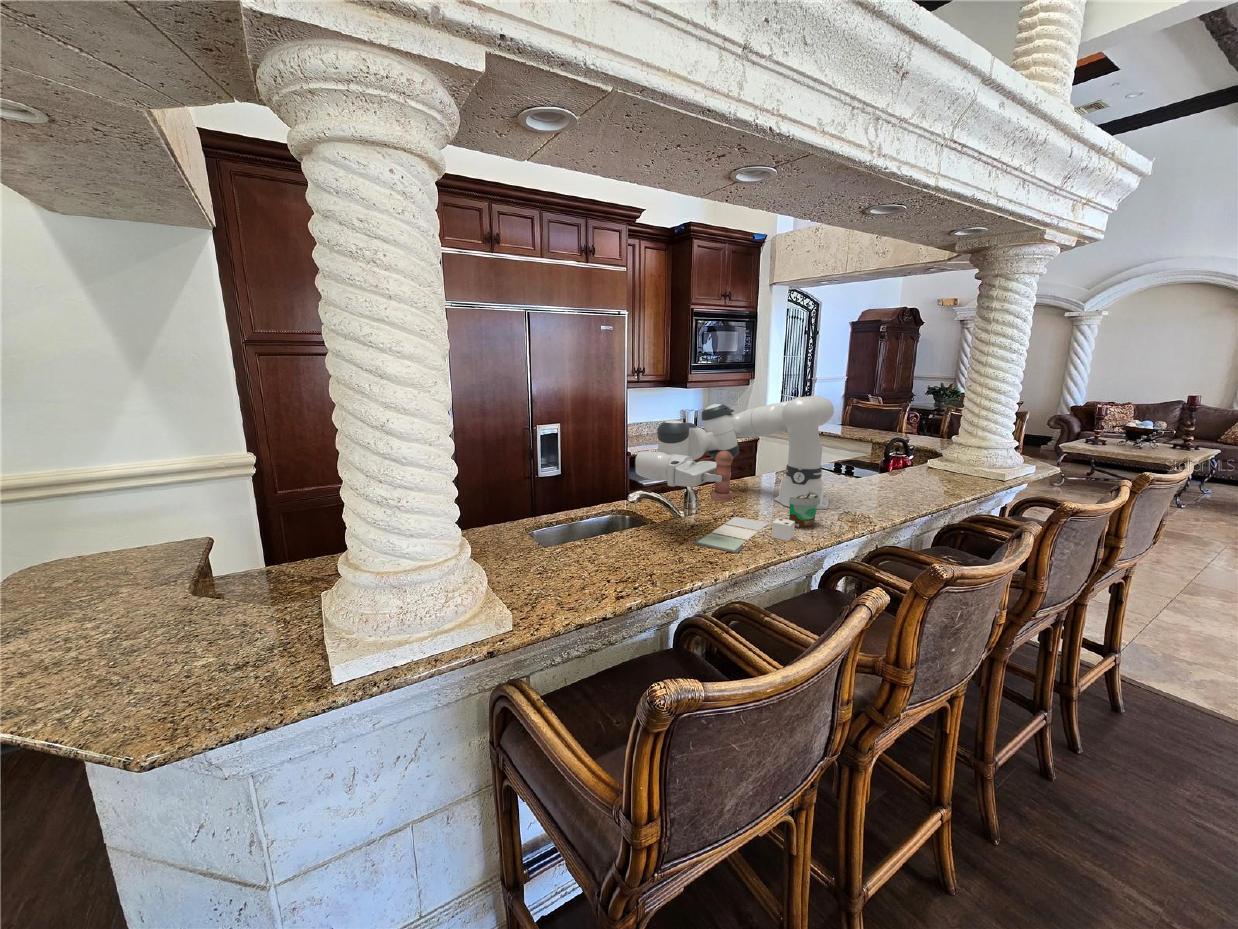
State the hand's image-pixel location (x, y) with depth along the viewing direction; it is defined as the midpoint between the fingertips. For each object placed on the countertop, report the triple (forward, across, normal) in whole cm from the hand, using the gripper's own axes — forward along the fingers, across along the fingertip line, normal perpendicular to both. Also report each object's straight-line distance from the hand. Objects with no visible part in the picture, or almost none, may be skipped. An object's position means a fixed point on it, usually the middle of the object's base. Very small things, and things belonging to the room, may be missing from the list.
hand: (726, 476), depth 140 cm
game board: (+1, -7, -18) cm, 20 cm away
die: (+14, -11, -18) cm, 26 cm away
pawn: (-1, 0, -7) cm, 7 cm away
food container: (+17, -26, -19) cm, 36 cm away
